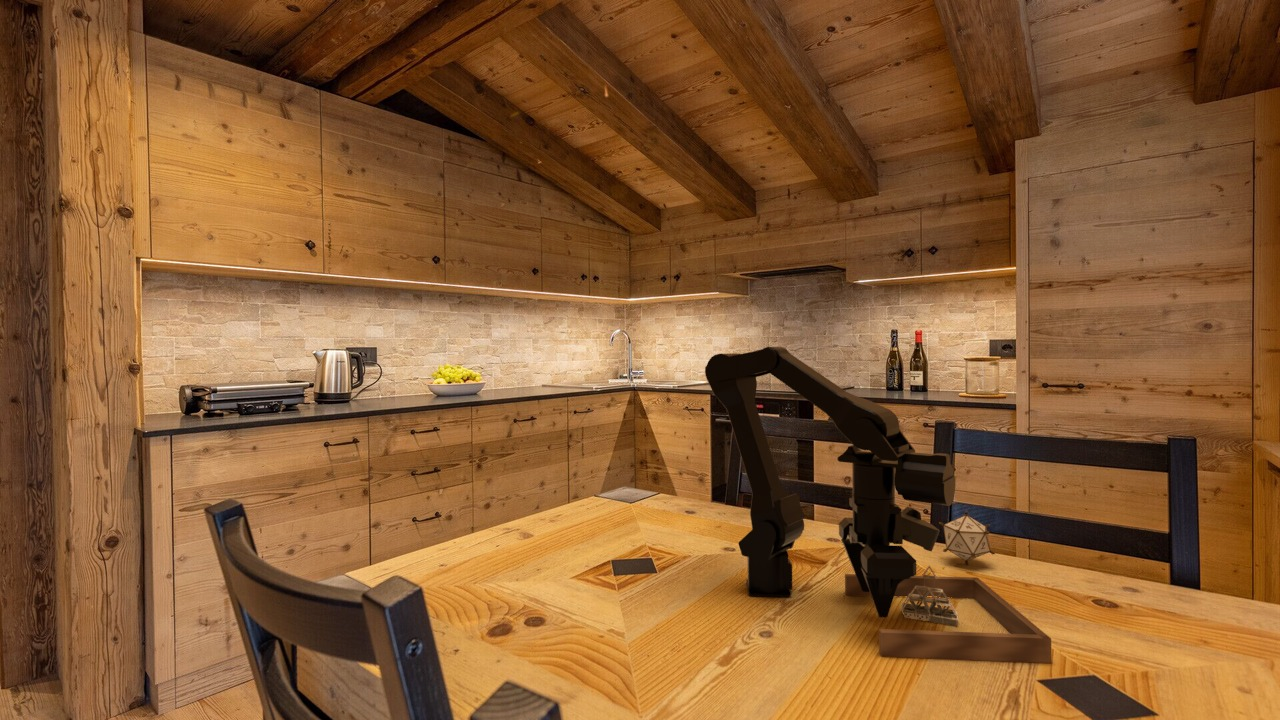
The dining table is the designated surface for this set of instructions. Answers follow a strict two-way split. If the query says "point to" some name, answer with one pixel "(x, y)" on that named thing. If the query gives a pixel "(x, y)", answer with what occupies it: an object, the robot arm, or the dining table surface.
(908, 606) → the house of cards
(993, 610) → the wooden arch
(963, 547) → the game die
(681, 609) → the dining table surface
